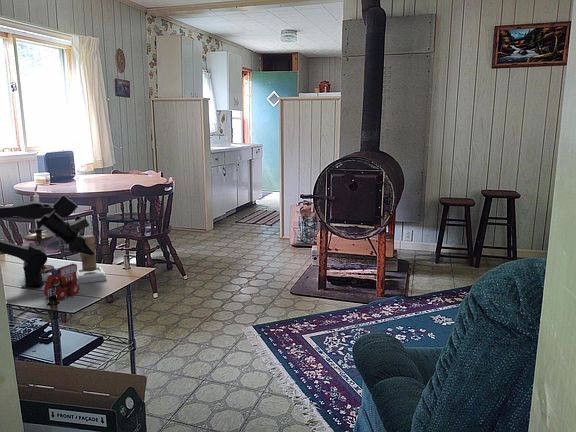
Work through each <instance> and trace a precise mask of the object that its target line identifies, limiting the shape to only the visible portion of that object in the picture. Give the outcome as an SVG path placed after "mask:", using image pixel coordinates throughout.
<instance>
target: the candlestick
mask: <svg viewBox="0 0 576 432" xmlns="http://www.w3.org/2000/svg"><path fill="white" fill-rule="evenodd" d="M37 190H38V184H36V185H35V187H34V195H33V201H39V202H40V195H39V194H38V192H37ZM41 219H42V218H40V219H34V220H35V221H34V222H35V223H34V224H35V228H33V229H32V230H33V231H35V232H33V233H28V234H25V235H23V240H24V241H27V242H36V243H37V246H41V248H43V246H42V245H43V243H42V242H44V241H48V240H52V239H54V238H55V234H54V233H52V232H42V230H45V227H44V228H43V227H42V226H41V227H40V228H39V229H37V223H36V220H41ZM53 269H55V265H52V264H44V265H42V274H46V273H51V271H52V270H53Z"/></svg>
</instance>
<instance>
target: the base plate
mask: <svg viewBox="0 0 576 432" xmlns="http://www.w3.org/2000/svg"><path fill="white" fill-rule="evenodd" d="M96 267H97V269H96V270H95V271H90V272H85V271H83V270H82V268H77V272H76V275H77V284H78V285H80V284H85V283H86V284H87V283H93V282H101V281H102V282H103V281H106V280H107V276H106V273H105V271H104V269H103V267H101V266H96Z"/></svg>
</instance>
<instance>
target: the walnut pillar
mask: <svg viewBox="0 0 576 432" xmlns="http://www.w3.org/2000/svg"><path fill="white" fill-rule="evenodd" d="M83 237H84V238H85V244H86V245H87V246H88V247H89V248H90V249H91V250H92V251H93V252H94V254H93V255H88V254H84V253H81V266H82V268H81V269H82V270H83V271H85V272H90V271H95V270H96V269H97V267H98V266H97V252H96V249H97V248H96V237H95V235H94V234H93V235H92V234H91V235H90V234H87V235H86V234H85V235H83Z"/></svg>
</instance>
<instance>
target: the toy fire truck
mask: <svg viewBox="0 0 576 432" xmlns="http://www.w3.org/2000/svg"><path fill="white" fill-rule="evenodd" d="M77 269H78V265H77V263H70V264H67V265H64V266H61V267H58V268H57V269H56V268H54V269H53V270H52V271H51V272H50V273H51V274H49V275H48V276H47V277H46V278H47V279H46V280H45V281H46V283H45V284H44V287H43V294H44V296H45V298H49V287H56V295H57V299H56V300H58V301H62V300H61V299H63V300H65V299H66V297H67V295H68V294H69V295H71V296H76V295H78V294H79V292H81V291H80V290H81V288H80V287H81V286H80V284H77V275H76V272H77Z"/></svg>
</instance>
